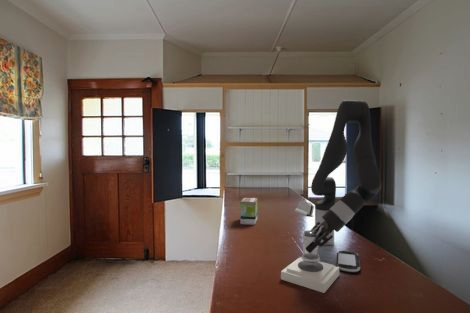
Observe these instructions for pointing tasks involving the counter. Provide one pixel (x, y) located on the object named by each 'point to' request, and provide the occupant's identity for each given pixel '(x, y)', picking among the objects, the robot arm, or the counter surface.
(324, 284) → the stand
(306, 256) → the knob
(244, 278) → the counter surface
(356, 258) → the gaming console
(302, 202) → the hinge
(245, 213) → the tea box
